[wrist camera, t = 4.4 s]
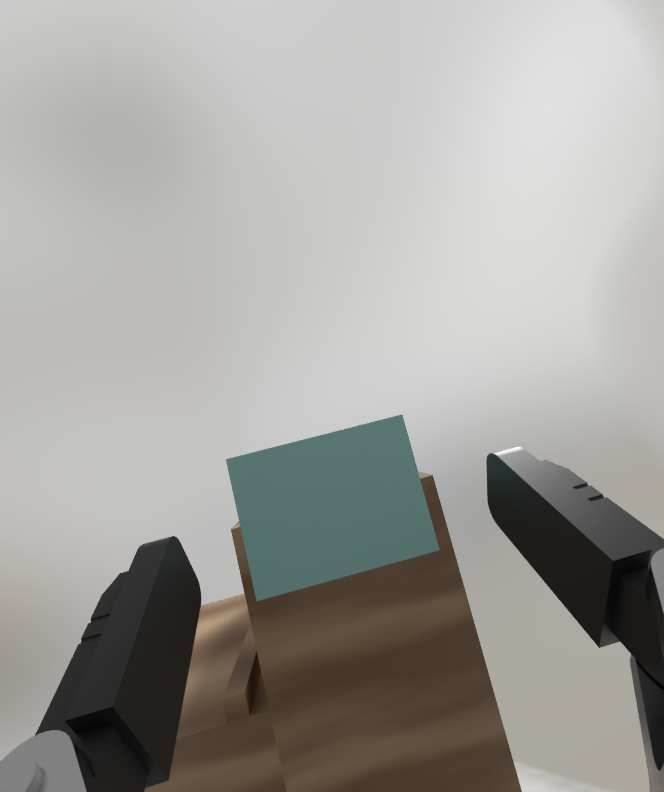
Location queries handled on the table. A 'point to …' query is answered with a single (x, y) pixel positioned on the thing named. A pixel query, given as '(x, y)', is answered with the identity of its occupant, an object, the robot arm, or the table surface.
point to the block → (330, 507)
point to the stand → (344, 686)
